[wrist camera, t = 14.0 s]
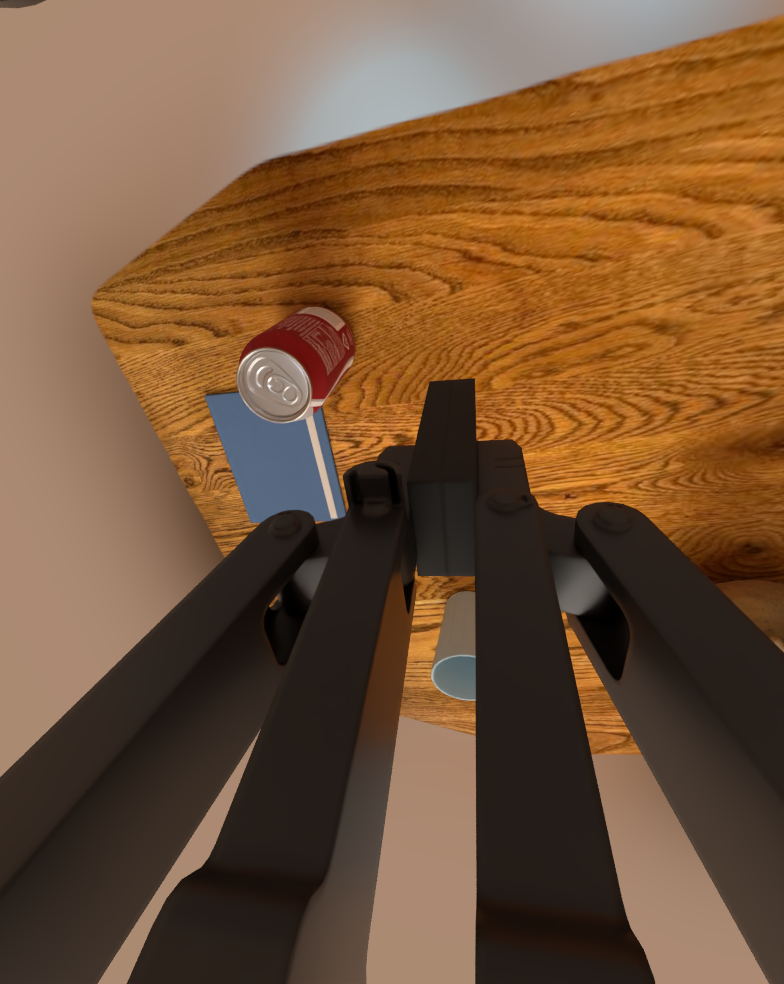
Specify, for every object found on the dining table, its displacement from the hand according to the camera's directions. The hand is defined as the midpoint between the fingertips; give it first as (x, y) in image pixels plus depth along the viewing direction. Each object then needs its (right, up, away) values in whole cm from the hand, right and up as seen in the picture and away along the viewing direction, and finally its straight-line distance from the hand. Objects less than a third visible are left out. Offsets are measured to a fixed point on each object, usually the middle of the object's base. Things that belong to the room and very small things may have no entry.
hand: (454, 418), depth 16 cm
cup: (+7, -17, +41) cm, 45 cm away
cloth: (-14, +1, +34) cm, 37 cm away
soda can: (-9, +11, +26) cm, 30 cm away
